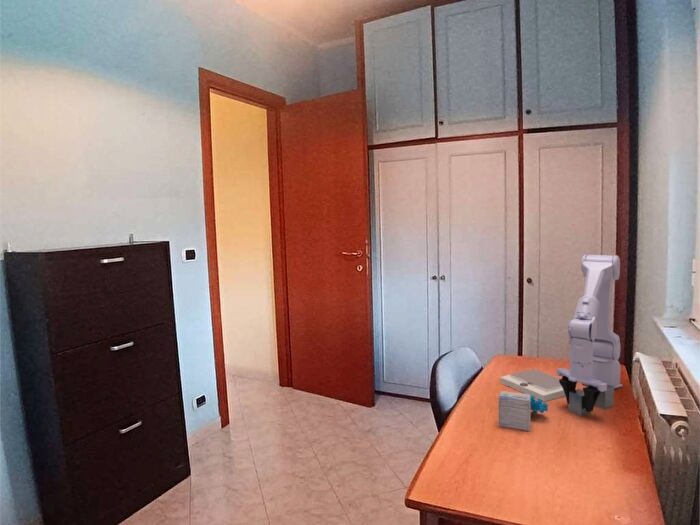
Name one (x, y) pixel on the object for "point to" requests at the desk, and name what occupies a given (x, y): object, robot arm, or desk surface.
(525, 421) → the medicine box
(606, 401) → the block
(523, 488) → the desk surface
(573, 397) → the block
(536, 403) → the gear
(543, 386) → the kitchen scale
